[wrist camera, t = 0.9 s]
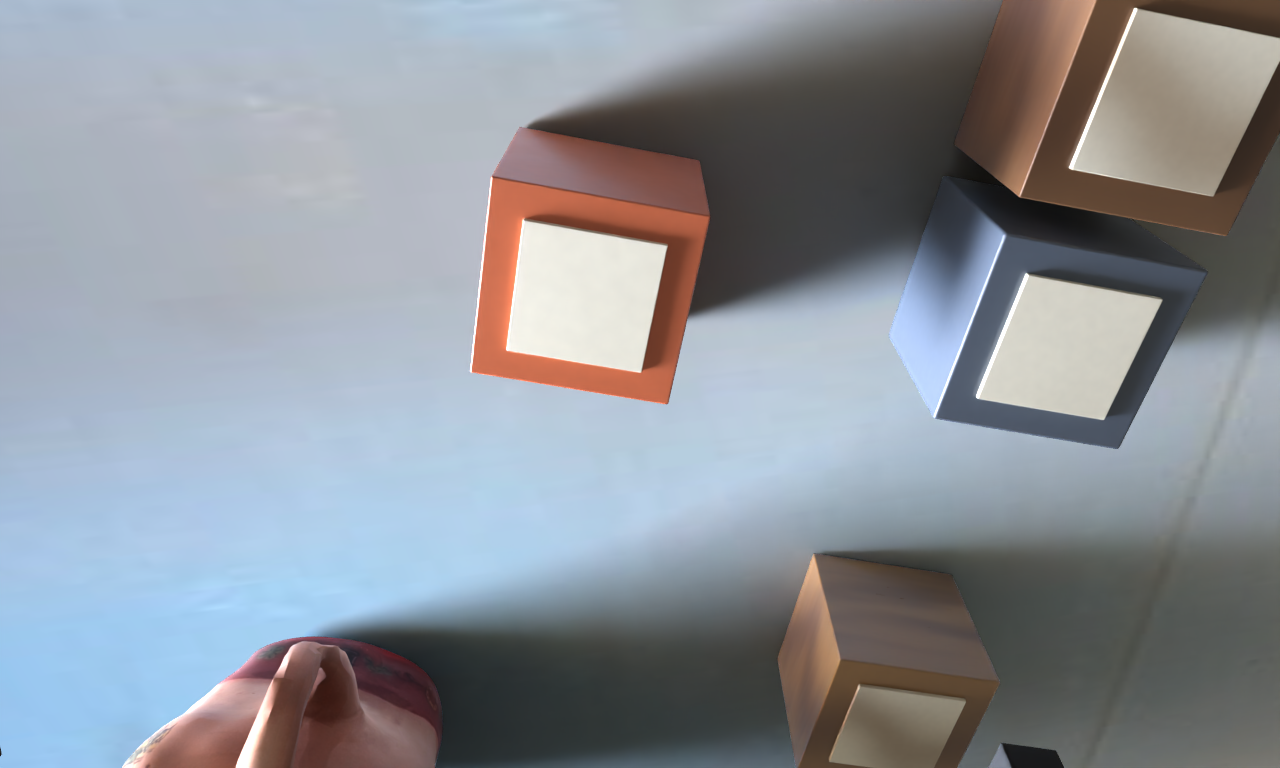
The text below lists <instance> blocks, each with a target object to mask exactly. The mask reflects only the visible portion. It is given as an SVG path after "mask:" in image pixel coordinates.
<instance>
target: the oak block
mask: <svg viewBox="0 0 1280 768" xmlns="http://www.w3.org/2000/svg"><path fill="white" fill-rule="evenodd" d="M777 660H778V666H779V671H780V677H781V683H782V689H783V695H784V701H785V707H786V713H787V719H788V724H789V730H790V736H791V742H792V748H793V754H794V760H795V766H796V768H957V767H958V765H959V764H960V762H961V760H962V758H963V756H964V754H965V752H966V750H967V748H968V746H969V744H970V742H971V740H972V738H973V736H974V734H975V732H976V730H977V728H978V726H979V724H980V722H981V720H982V718H983V716H984V714H985V712H986V710H987V708H988V706H989V704H990V702H991V700H992V698H993V696H994V694H995V692H996V691H997V689H998V687H999V685H1000V681H999V678H998V676H997V674H996V672H995V669H994V667H993V665H992V663H991V661H990V658H989V656H988V654H987V652H986V649H985V647H984V645H983V643H982V641H981V638H980V636H979V634H978V632H977V629H976V627H975V625H974V623H973V621H972V618H971V616H970V614H969V612H968V609H967V607H966V605H965V603H964V601H963V598H962V596H961V594H960V592H959V589H958V587H957V585H956V583H955V580H954V578H953V576H952V575H951V574H945V573H939V572H932V571H926V570H919V569H913V568H906V567H900V566H893V565H887V564H880V563H874V562H867V561H861V560H854V559H848V558H841V557H835V556H828V555H822V554H815V553H814V554H813V556H812V559H811V562H810V565H809V568H808V571H807V573H806V576H805V579H804V582H803V585H802V588H801V591H800V594H799V597H798V600H797V603H796V605H795V608H794V611H793V614H792V617H791V620H790V623H789V626H788V629H787V632H786V635H785V638H784V640H783V643H782V646H781V649H780V652H779V655H778V658H777Z"/></svg>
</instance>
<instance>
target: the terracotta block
mask: <svg viewBox="0 0 1280 768" xmlns="http://www.w3.org/2000/svg"><path fill="white" fill-rule="evenodd" d="M709 222H710V212H709V207H708V201H707V196H706V191H705V186H704V181H703V176H702V171H701V166H700V161H699V160H694V159H689V158H684V157H678V156H673V155H668V154H662V153H657V152H651V151H646V150H641V149H635V148H630V147H625V146H619V145H614V144H609V143H603V142H598V141H592V140H587V139H582V138H576V137H571V136H566V135H560V134H555V133H549V132H544V131H539V130H533V129H528V128H523V127H519V129H518V131H517V132H516V134H515V136H514V138H513V140H512V141H511V143H510V145H509V147H508V148H507V150H506V152H505V154H504V155H503V157H502V159H501V161H500V162H499V164H498V166H497V168H496V170H495V171H494V173H493V175H492V177H491V183H490V192H489V201H488V210H487V220H486V229H485V238H484V247H483V257H482V266H481V275H480V284H479V294H478V303H477V312H476V321H475V331H474V340H473V349H472V358H471V368H470V371H471V372H473V373H479V374H485V375H492V376H498V377H504V378H510V379H516V380H522V381H528V382H534V383H540V384H546V385H552V386H558V387H564V388H570V389H577V390H583V391H589V392H595V393H601V394H607V395H613V396H619V397H625V398H631V399H637V400H643V401H649V402H656V403H662V404H668V402H669V398H670V394H671V389H672V385H673V380H674V376H675V371H676V367H677V363H678V358H679V354H680V349H681V345H682V341H683V336H684V332H685V327H686V323H687V319H688V314H689V310H690V305H691V301H692V297H693V292H694V288H695V283H696V279H697V275H698V270H699V266H700V261H701V257H702V253H703V248H704V244H705V239H706V235H707V231H708V226H709Z"/></svg>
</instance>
